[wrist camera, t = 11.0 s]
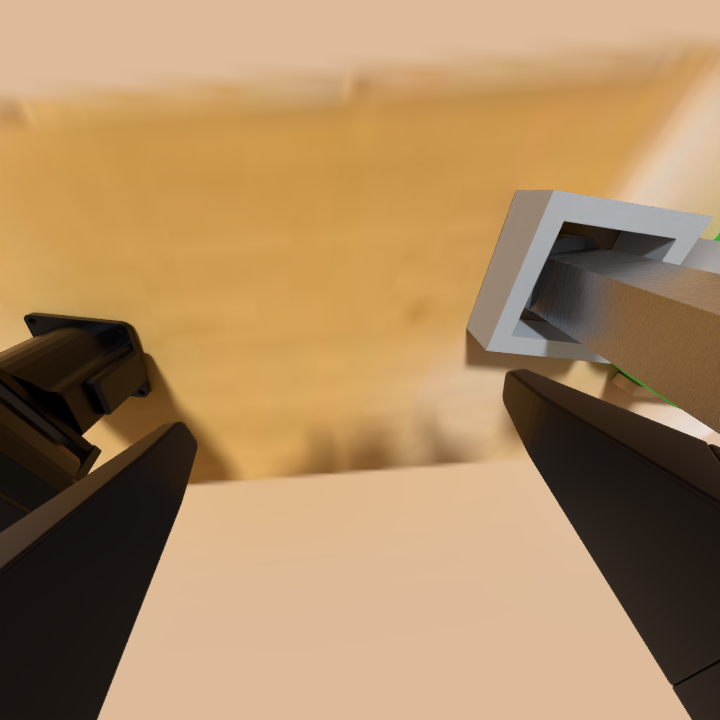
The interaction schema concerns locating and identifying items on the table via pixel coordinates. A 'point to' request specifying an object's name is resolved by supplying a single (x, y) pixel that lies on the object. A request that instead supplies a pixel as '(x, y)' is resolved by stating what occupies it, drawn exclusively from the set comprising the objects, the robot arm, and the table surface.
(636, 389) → the bay rails
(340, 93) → the table surface
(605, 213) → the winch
